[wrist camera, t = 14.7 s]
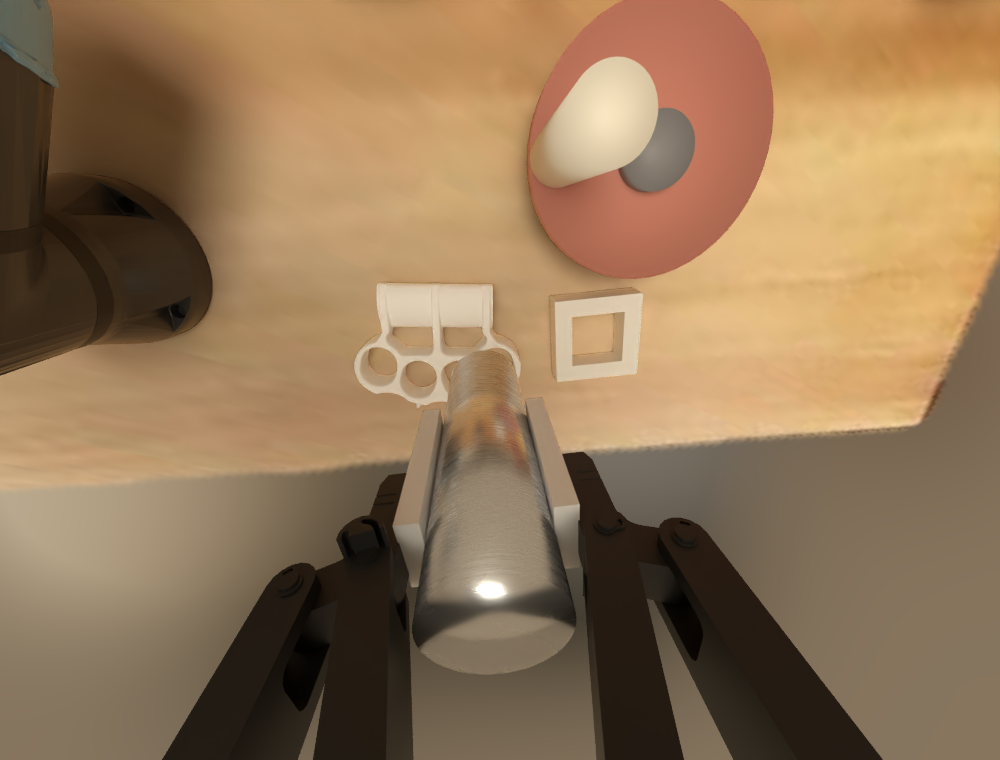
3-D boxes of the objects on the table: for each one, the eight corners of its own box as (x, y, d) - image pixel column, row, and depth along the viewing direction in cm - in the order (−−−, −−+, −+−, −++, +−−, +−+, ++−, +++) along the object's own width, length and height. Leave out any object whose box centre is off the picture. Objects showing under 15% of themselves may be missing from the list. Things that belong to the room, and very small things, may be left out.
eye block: (551, 371, 42) (556, 382, 39) (549, 296, 38) (554, 302, 36) (626, 363, 42) (636, 373, 40) (631, 287, 38) (643, 292, 36)
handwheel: (723, 270, 32) (881, 307, 20) (526, 279, 32) (558, 322, 19) (784, 2, 25) (1107, -224, 12) (526, 7, 24) (578, -225, 11)
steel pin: (456, 414, 22) (429, 682, 9) (445, 354, 20) (394, 586, 8) (519, 406, 22) (576, 664, 10) (514, 346, 20) (575, 564, 8)
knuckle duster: (521, 281, 38) (516, 401, 44) (351, 279, 37) (369, 402, 43) (525, 287, 35) (518, 415, 41) (339, 285, 34) (361, 416, 40)
